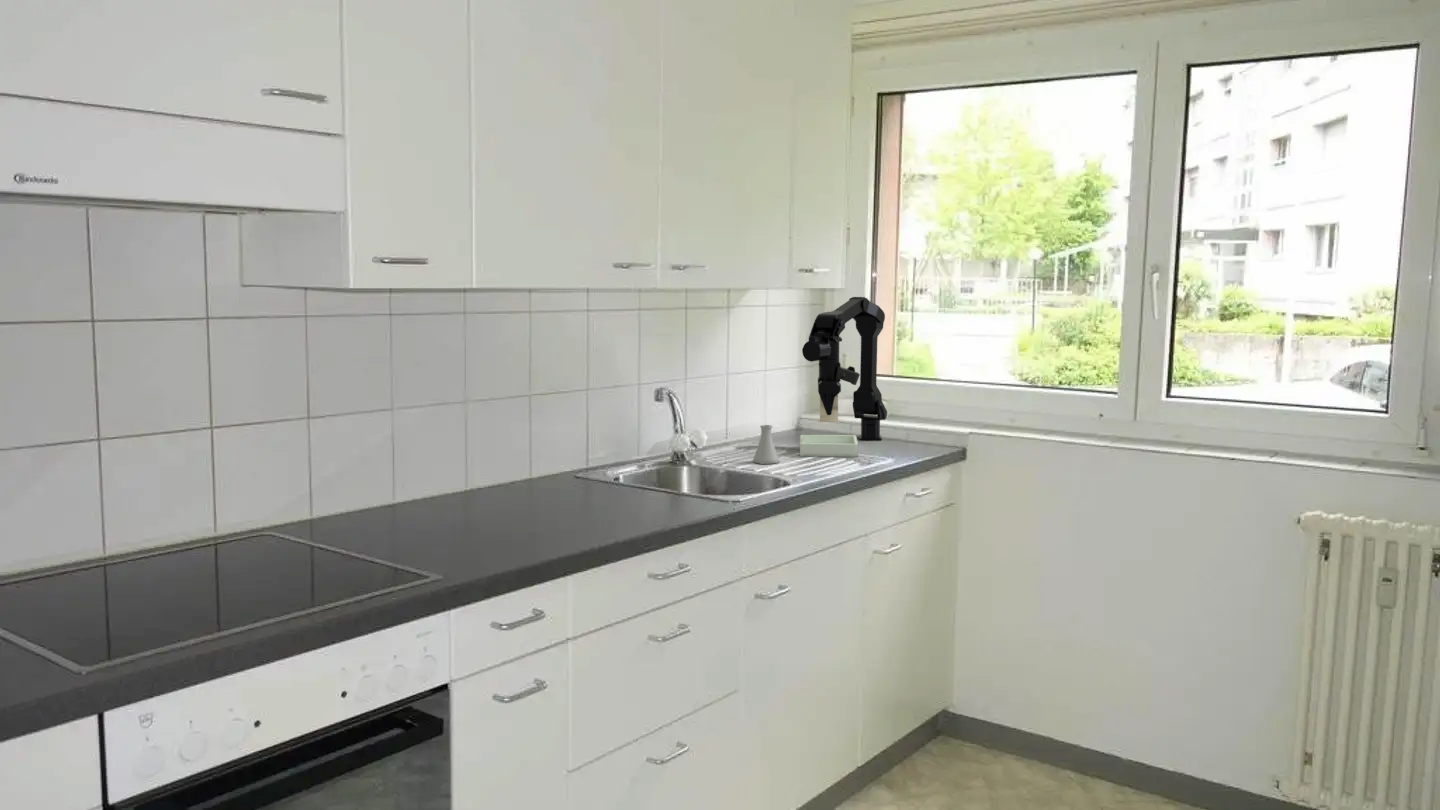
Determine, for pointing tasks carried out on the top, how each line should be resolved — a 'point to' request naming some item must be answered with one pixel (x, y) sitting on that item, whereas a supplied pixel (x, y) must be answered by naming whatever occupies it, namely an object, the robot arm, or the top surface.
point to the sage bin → (828, 446)
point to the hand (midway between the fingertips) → (828, 413)
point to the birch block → (833, 414)
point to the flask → (766, 448)
